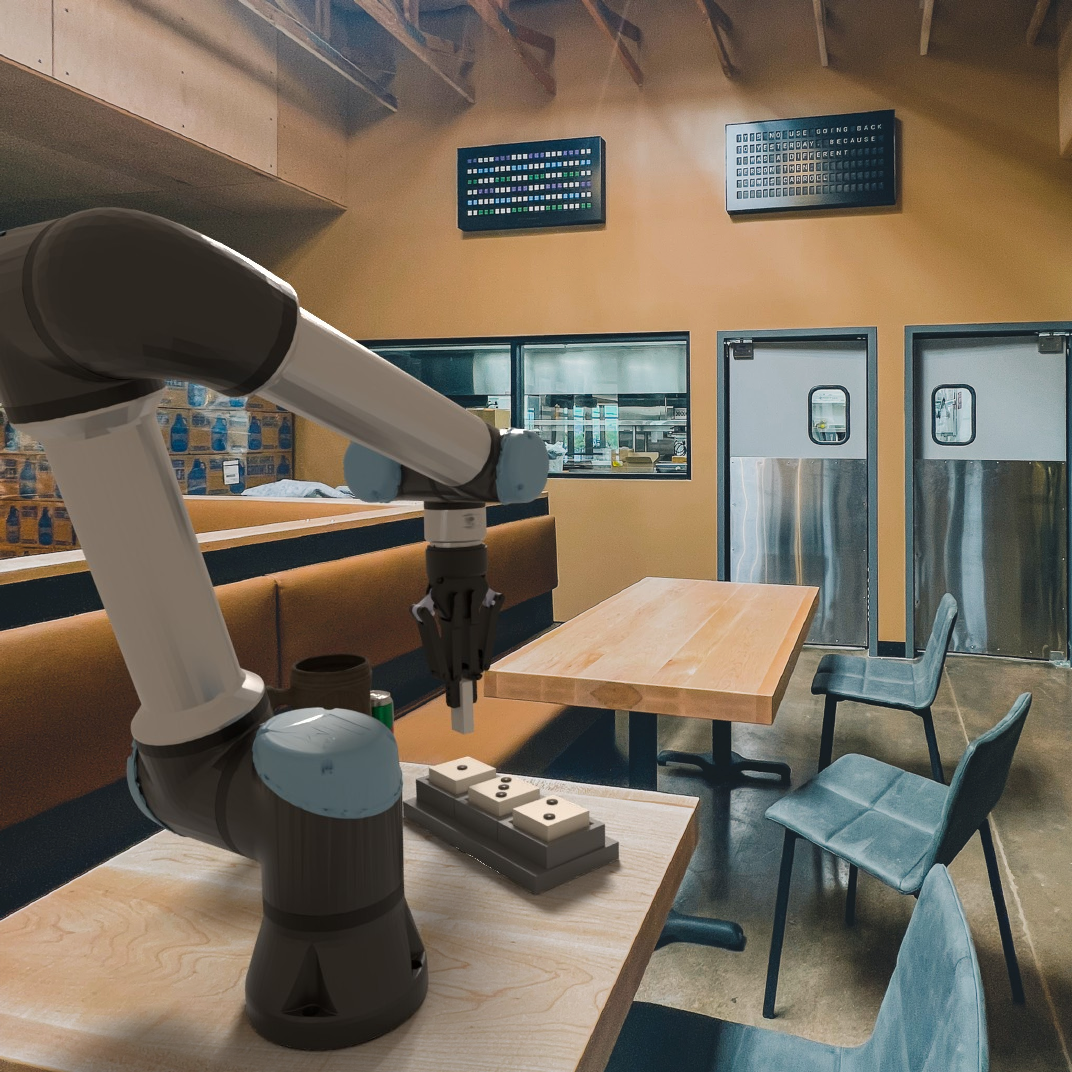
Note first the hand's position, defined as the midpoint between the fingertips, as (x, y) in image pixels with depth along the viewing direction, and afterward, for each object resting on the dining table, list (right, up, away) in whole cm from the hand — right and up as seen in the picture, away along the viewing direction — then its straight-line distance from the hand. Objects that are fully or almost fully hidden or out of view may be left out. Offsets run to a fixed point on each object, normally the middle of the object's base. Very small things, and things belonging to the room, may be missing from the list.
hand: (462, 730), depth 112 cm
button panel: (+5, -11, -6) cm, 14 cm away
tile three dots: (+5, -8, -6) cm, 11 cm away
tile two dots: (+11, -8, -13) cm, 19 cm away
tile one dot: (0, -7, 0) cm, 7 cm away
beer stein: (-18, -11, 0) cm, 21 cm away
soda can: (-13, -10, +13) cm, 21 cm away
